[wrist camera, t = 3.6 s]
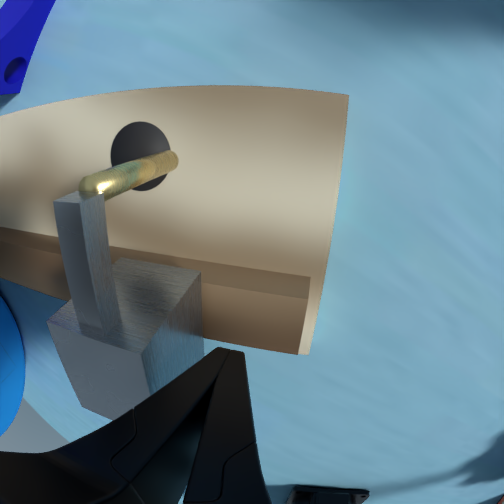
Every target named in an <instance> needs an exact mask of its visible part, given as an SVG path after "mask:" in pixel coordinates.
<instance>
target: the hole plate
mask: <svg viewBox="0 0 504 504" xmlns="http://www.w3.org/2000/svg"><path fill="white" fill-rule="evenodd" d="M348 99H349V95H345V94H338V93H331V92H323V91H314V90H304V89H293V88H280V87H263V86H231V85H210V86H178V87H161V88H148V89H138V90H128V91H120V92H112V93H104V94H98V95H91V96H85V97H79V98H74V99H68V100H63V101H58V102H54V103H49V104H44V105H40V106H36V107H32V108H28V109H24V110H20V111H16V112H13V113H9V114H6V115H2V116H0V278H3V279H6V280H8V281H11V282H13V283H16V284H19V285H21V286H24V287H27V288H30V289H32V290H35V291H38V292H41V293H44V294H47V295H50V296H53V297H56V298H59V299H62V300H65V301H69V300H71V299H72V298H71V294H70V290H69V286H68V282H67V278H66V273H65V269H64V264H63V259H62V254H61V249H60V244H59V238H58V232H57V226H56V219H55V213H54V205H53V201H54V200H57V199H59V198H61V197H64V196H66V195H68V194H71V193H73V192H75V191H78V187H79V183H80V181H81V179H82V178H83V177H85V176H88V175H90V174H93V173H96V172H99V171H102V170H105V169H108V168H111V167H114V166H117V165H120V164H123V163H126V162H129V161H133V160H136V159H139V158H142V157H146V156H149V155H153V154H156V153H160V152H163V151H167V150H170V151H173V152H175V153H176V155H177V156H178V160H179V163H178V166H177V168H176V169H175V170H173V171H171V172H169V173H166V174H164V175H162V176H159V177H157V178H155V179H152V180H150V181H148V182H146V183H143V184H141V185H139V186H137V187H135V188H132V189H130V190H128V191H126V192H124V193H122V194H120V195H117V196H115V197H113V198H111V199H109V200H107V201H105V202H104V203H105V214H106V223H107V232H108V240H109V248H110V256H111V262H112V264H114V263H115V262H116V261H117V260H118V259H120V258H121V257H123V258H128V259H134V260H140V261H145V262H151V263H157V264H162V265H168V266H174V267H180V268H186V269H192V270H198V271H201V287H202V320H203V338H207V339H212V340H217V341H222V342H227V343H232V344H237V345H242V346H248V347H253V348H259V349H264V350H270V351H276V352H283V353H289V354H296V355H298V354H304V355H309V350H310V346H311V342H312V337H313V333H314V328H315V323H316V319H317V314H318V309H319V304H320V299H321V294H322V289H323V284H324V278H325V273H326V267H327V262H328V256H329V250H330V244H331V238H332V232H333V226H334V219H335V212H336V206H337V199H338V191H339V184H340V176H341V168H342V160H343V151H344V142H345V132H346V122H347V111H348Z"/></svg>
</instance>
